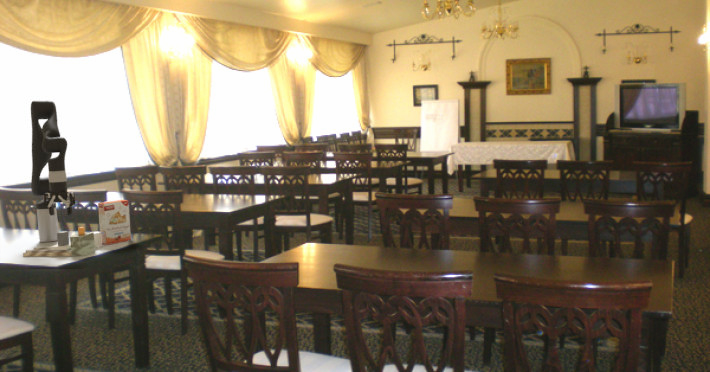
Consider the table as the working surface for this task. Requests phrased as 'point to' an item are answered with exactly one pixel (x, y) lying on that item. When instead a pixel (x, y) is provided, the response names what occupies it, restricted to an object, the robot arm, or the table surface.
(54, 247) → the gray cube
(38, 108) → the robot arm
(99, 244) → the white cube
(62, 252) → the rail track
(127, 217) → the cracker box
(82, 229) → the button
